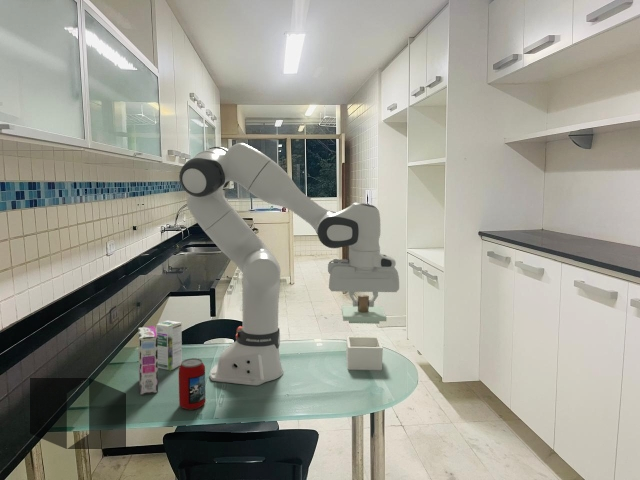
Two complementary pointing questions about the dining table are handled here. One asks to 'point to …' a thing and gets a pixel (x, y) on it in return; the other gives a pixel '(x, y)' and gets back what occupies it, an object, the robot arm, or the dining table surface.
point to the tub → (364, 353)
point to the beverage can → (191, 383)
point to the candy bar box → (148, 360)
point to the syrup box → (169, 344)
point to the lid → (363, 312)
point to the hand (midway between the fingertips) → (363, 306)
